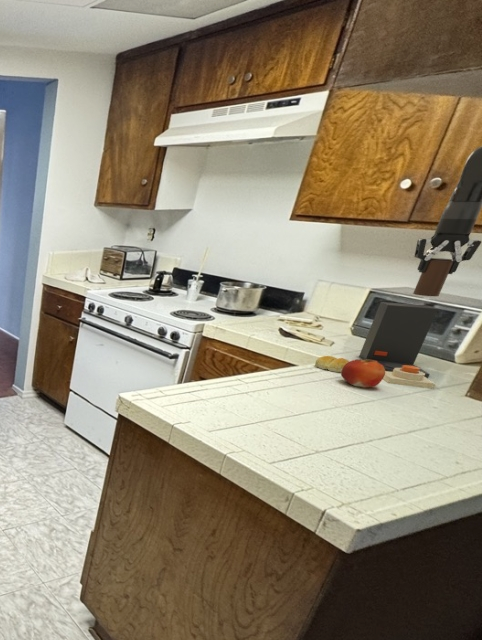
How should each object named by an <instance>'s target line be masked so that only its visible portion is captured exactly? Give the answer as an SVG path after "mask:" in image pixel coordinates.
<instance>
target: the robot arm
mask: <svg viewBox="0 0 482 640" xmlns="http://www.w3.org/2000/svg"><path fill="white" fill-rule="evenodd" d="M481 210H482V146H480V147H477V148H476V149H474V150H473V151H472V152H471V153H470V154H469V155H467V157H466V159H465V161H464V167H463V169H462V172H461V174H460V176H459V180H458V182H457V184H456V185H455V187H454V189H453V191H452V192H451V195H450V198H449V200H448V202H447V204H446V206H445V207H444V209H443V212H442V214H441V216H440V219H439V221H438V223H437V226H436V229H435V231H434V234H433V235H432V236H431V237H429V238H418V239H417V241H416V245H415V251H414V255H413V256H414V258H415V259H416V258H417V259H419V260H420V262H419V264H418V266H417V271H418V273H420V274H421V273H424V272H425V270H426V268H427V266H428V263H429V261H428V260H429V259H430V258H434V256H435V255H437V254H439V253H441V252H442V253H443V252H447V253H449V254H450V255H451V259H452V261H454V262H453V264H452V267H451V269H450V271H449V273H448V275H453V273H455V272H456V271H457V270H458V267H459V265H460V263H461V262H465V261H470V260H471V259H472V258H473V256H474V255H475V253H476V251H478V249H479V247H480V245H481V244H482V240H478V239H477V240H476V239H470V235H471V233H472V231H473V229H474V226H475V224H476V222H477V220H478V217H479V215H480V213H481ZM429 243H430V244H431V247H429V248H428V249H427V251H426V252H425V250H426V246H428V245H429ZM464 246H466V247H467V248H466V249H465V251H464V252H463V253H462V247H464Z"/></svg>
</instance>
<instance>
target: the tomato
mask: <svg viewBox="0 0 482 640" xmlns="http://www.w3.org/2000/svg"><path fill="white" fill-rule="evenodd" d="M340 376H341V377H342V379H344V381H346V383H348V384H349V385H351V386H354V387H359V388H364V389H365V388H367V389H368V388H374V387H377V386H378V385H379V384H380V383H381V382H382V381H383V377H384V376H385V369H384V367H383V365H382V364H380V363H378V362H377V361H374V360H370V359H367V360H363V359H361V358H360V359H353V360H349V362H348V363H347V364H345V366H344V367H343V369H342V371H341V372H340Z"/></svg>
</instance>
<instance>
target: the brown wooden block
mask: <svg viewBox="0 0 482 640" xmlns="http://www.w3.org/2000/svg"><path fill="white" fill-rule="evenodd" d="M428 261H429V263H428V266H427V268H426V270H425V272H424V273H421V272H420V276H419V278H418V280H417V283H416V286H415V288H414V290H413V293H412V294H413V295H416V296H421V297H422V296H423V297H440V294H441V291H442V289H443V287H444V285H445V283H446V280H447V278H448V276H449V274H448V273H449V271H450V269H451V267H452V264H453V262H454V261H453V260H452V258H445V257H444V258H443V257H442V258H441V257H431V258H430V259H429V260H428Z"/></svg>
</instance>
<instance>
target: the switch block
mask: <svg viewBox="0 0 482 640" xmlns="http://www.w3.org/2000/svg"><path fill="white" fill-rule="evenodd" d="M401 369H402V368H394V369H393V372H388V371H385V376H384V377H383V379H382V381H385V382H386V383H387V384H393V385H401V386H408V387H416V388H422V389H423V388H424V389H432V390H434V389H435V387H436V383H435V382H434V381H432V380H430V379H429V378H426V377H424V376H425V373H423V372H420V371H418V374H415V373H408V372H404V371H401Z"/></svg>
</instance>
